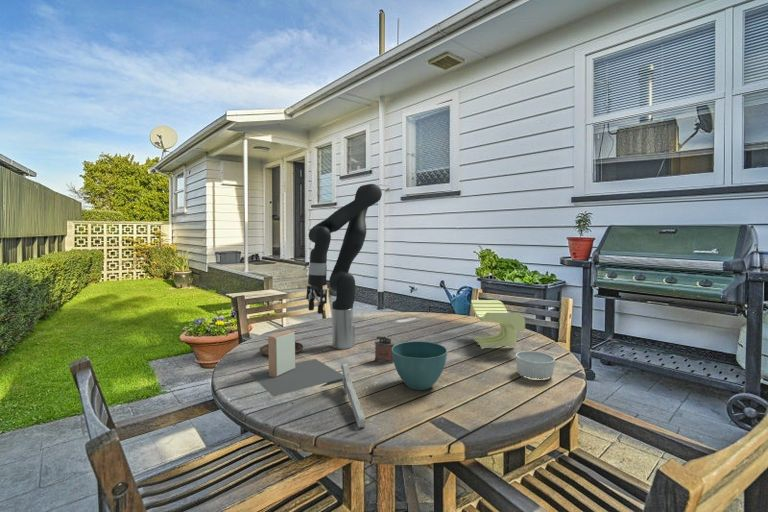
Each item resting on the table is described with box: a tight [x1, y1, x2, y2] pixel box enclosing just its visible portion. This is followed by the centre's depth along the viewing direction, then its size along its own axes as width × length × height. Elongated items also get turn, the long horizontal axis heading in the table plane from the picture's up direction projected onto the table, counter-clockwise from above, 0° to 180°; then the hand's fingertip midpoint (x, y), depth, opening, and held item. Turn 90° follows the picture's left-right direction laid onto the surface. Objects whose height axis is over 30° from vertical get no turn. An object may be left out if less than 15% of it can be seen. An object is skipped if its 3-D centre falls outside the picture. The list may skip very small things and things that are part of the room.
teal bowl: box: [392, 341, 448, 391], centre depth 128 cm, size 18×18×12 cm
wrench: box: [340, 363, 366, 429], centre depth 114 cm, size 8×2×30 cm
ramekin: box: [514, 350, 556, 379], centre depth 137 cm, size 13×13×7 cm
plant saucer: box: [259, 341, 304, 358], centre depth 161 cm, size 18×18×3 cm
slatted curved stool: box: [470, 299, 526, 347], centre depth 174 cm, size 30×16×18 cm, turn 179°
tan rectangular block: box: [267, 329, 296, 377], centre depth 137 cm, size 3×10×14 cm, turn 152°
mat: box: [248, 358, 343, 397], centre depth 134 cm, size 26×24×1 cm
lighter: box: [374, 335, 395, 364], centre depth 151 cm, size 8×3×10 cm, turn 65°
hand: (315, 311), depth 162 cm, fingers open, 8 cm apart
